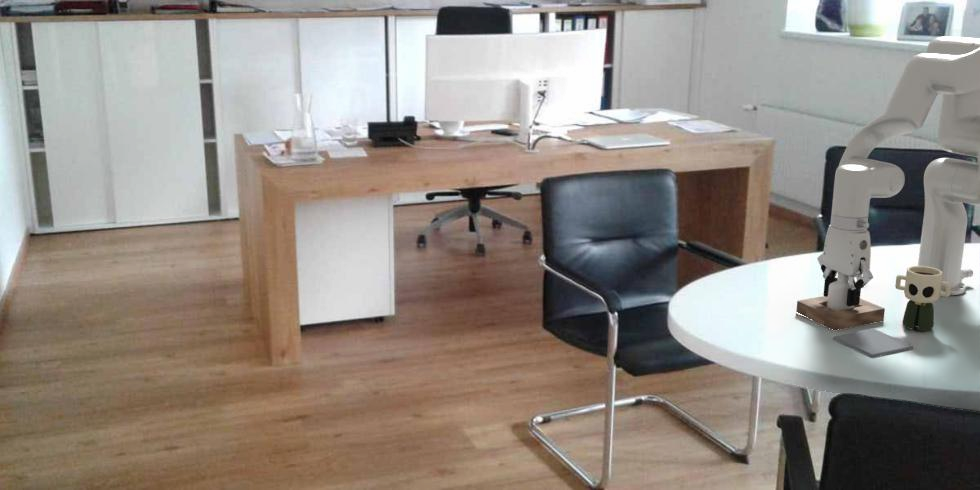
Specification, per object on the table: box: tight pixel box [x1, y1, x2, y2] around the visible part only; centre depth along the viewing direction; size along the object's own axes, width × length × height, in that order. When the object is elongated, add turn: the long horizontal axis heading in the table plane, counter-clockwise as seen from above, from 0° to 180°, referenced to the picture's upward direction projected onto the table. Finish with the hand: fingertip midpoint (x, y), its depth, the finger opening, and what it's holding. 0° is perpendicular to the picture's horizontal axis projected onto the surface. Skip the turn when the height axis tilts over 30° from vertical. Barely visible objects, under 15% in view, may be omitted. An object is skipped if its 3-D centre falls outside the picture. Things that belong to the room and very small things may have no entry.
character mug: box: [895, 265, 951, 331], centre depth 217 cm, size 11×7×13 cm, turn 59°
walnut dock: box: [796, 295, 886, 331], centre depth 224 cm, size 14×12×3 cm
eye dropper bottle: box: [827, 272, 854, 311], centre depth 223 cm, size 4×6×12 cm
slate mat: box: [832, 328, 914, 358], centre depth 210 cm, size 11×11×1 cm
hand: (841, 299), depth 224 cm, fingers open, 6 cm apart
